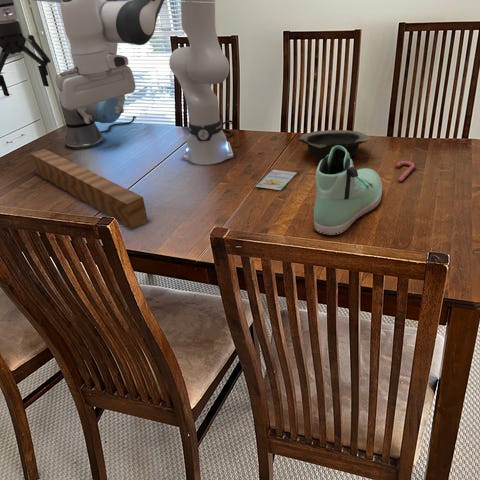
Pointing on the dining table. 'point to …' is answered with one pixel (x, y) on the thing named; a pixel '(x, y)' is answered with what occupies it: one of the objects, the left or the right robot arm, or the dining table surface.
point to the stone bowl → (333, 142)
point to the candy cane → (406, 170)
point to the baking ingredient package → (276, 179)
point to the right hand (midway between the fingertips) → (105, 117)
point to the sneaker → (343, 192)
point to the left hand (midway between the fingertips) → (27, 90)
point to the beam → (91, 188)
